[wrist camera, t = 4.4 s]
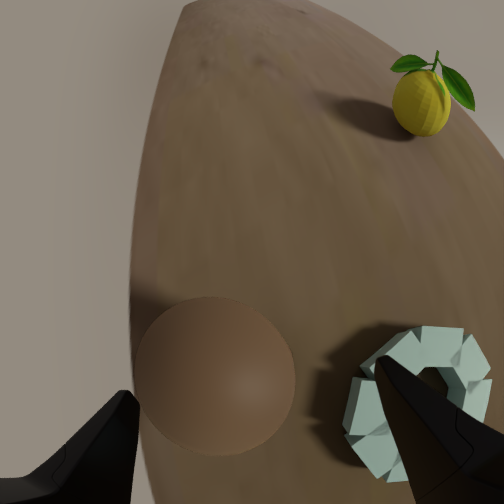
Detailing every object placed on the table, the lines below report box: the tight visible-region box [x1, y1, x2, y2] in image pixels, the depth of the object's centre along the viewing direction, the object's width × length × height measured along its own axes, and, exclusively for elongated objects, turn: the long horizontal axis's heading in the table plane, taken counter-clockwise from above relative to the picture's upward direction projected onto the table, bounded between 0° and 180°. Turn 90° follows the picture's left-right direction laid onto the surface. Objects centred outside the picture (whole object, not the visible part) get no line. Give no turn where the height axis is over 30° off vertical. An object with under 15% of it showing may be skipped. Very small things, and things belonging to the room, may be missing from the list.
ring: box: [342, 326, 492, 482], centre depth 13 cm, size 10×10×2 cm
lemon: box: [390, 50, 475, 137], centre depth 17 cm, size 7×6×10 cm
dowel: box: [134, 297, 295, 456], centre depth 11 cm, size 3×3×13 cm
